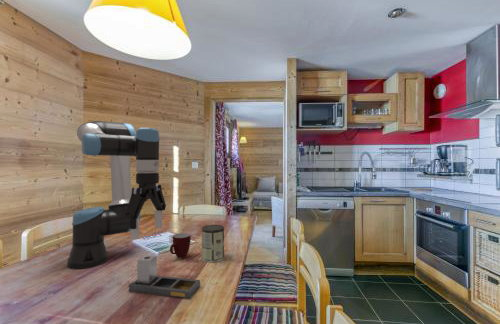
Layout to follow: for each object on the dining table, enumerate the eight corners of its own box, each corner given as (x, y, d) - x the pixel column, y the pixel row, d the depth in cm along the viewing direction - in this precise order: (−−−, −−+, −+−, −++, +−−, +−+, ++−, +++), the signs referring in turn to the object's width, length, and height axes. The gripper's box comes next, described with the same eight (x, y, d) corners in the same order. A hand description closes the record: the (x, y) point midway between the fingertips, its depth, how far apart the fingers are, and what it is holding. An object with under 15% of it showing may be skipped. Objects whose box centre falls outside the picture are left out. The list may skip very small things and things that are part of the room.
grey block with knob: (137, 288, 86) (137, 259, 86) (145, 282, 91) (145, 254, 91) (149, 290, 86) (149, 260, 86) (156, 283, 90) (156, 255, 90)
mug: (179, 263, 110) (179, 240, 110) (164, 260, 113) (165, 238, 113) (194, 255, 119) (194, 234, 119) (180, 252, 123) (180, 232, 123)
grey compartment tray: (128, 292, 85) (128, 285, 85) (144, 281, 93) (144, 274, 93) (189, 300, 80) (189, 292, 80) (200, 287, 89) (200, 280, 89)
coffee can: (209, 252, 123) (209, 223, 123) (228, 255, 118) (228, 226, 118) (196, 260, 113) (197, 228, 113) (216, 264, 109) (216, 231, 109)
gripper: (133, 173, 75) (133, 244, 75) (175, 171, 100) (174, 224, 100) (112, 173, 77) (111, 243, 77) (157, 171, 101) (157, 223, 101)
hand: (147, 233), depth 88 cm, fingers open, 13 cm apart
